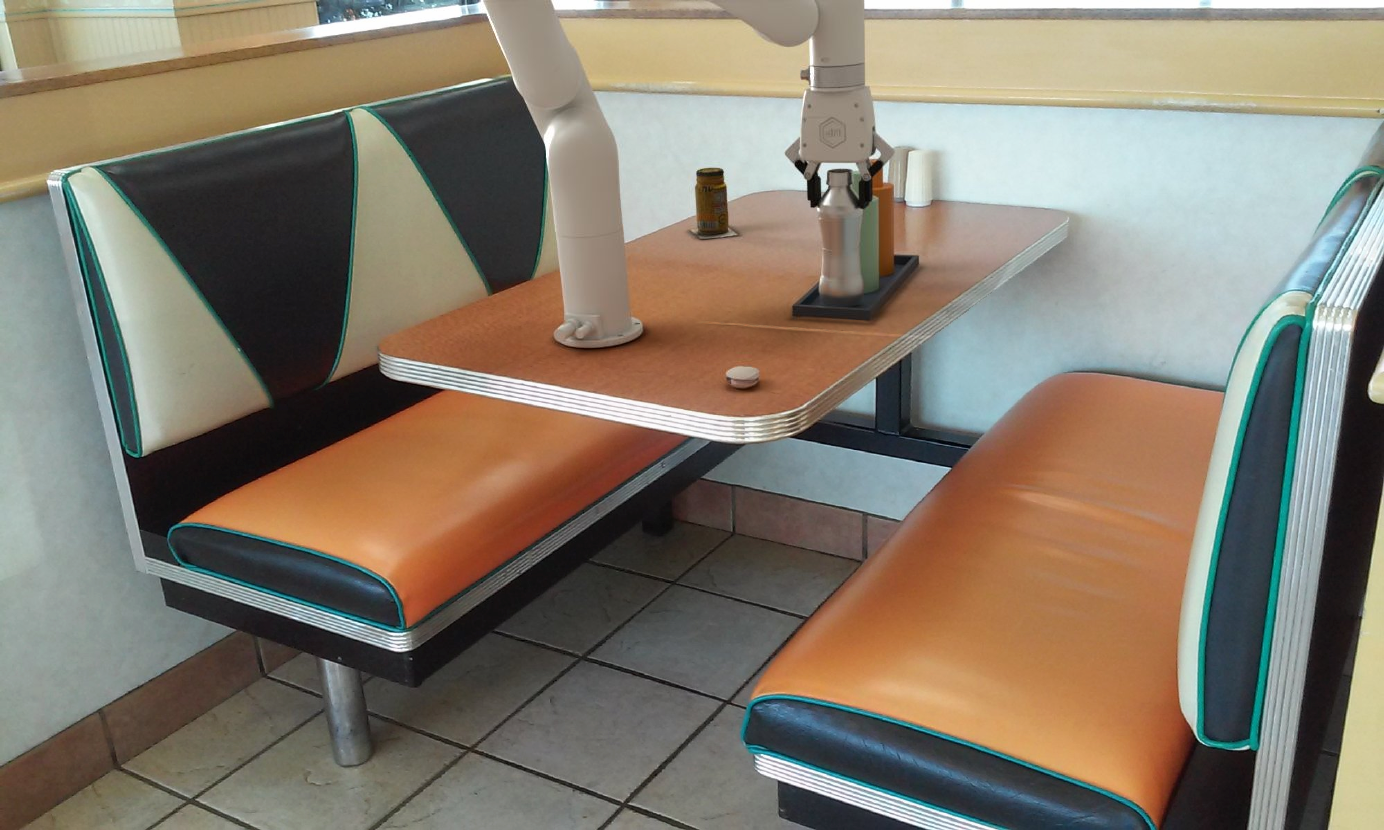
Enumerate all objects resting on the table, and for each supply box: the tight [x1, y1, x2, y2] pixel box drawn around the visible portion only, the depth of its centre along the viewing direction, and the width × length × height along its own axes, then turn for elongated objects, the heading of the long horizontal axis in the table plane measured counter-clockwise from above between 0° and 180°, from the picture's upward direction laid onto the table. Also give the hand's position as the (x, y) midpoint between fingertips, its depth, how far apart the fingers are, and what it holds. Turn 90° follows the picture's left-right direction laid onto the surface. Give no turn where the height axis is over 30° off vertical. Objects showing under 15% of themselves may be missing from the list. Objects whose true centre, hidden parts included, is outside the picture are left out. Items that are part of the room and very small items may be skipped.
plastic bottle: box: [816, 168, 864, 307], centre depth 170 cm, size 6×7×20 cm
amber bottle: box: [869, 158, 895, 277], centre depth 186 cm, size 6×6×18 cm
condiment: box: [690, 167, 738, 240], centre depth 222 cm, size 7×8×12 cm
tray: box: [791, 253, 920, 322], centre depth 182 cm, size 31×12×2 cm, turn 157°
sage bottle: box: [852, 170, 879, 293], centre depth 178 cm, size 6×6×18 cm
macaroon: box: [725, 365, 760, 389], centre depth 147 cm, size 4×5×2 cm
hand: (839, 205), depth 168 cm, fingers closed on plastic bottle, 6 cm apart
